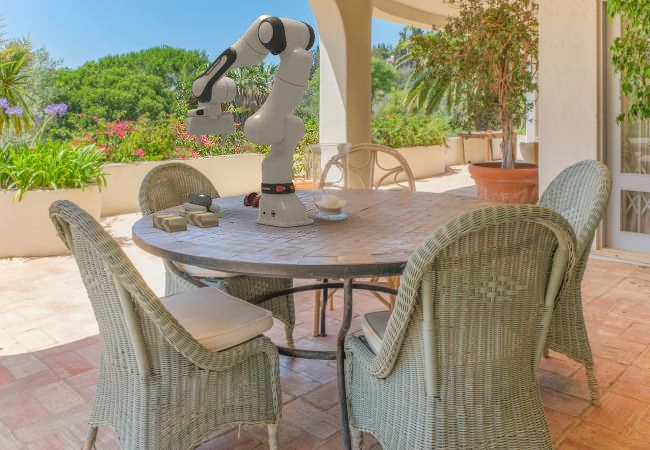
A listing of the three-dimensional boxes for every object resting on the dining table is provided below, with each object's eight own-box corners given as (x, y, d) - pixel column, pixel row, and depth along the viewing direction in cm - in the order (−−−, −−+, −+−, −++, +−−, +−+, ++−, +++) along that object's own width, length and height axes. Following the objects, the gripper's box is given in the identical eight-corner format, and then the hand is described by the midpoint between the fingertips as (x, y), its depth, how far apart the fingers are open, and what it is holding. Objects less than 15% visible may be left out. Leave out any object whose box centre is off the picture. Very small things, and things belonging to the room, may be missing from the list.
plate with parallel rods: (224, 216, 222) (223, 204, 221) (196, 220, 215) (195, 207, 214) (206, 212, 234) (206, 200, 234) (179, 215, 227) (178, 203, 226)
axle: (212, 206, 221) (211, 194, 220) (200, 208, 219) (199, 196, 218) (199, 203, 231) (198, 191, 230) (188, 205, 228) (186, 193, 227)
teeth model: (256, 194, 243) (241, 192, 252) (256, 208, 244) (241, 206, 253) (272, 193, 248) (257, 191, 257) (272, 207, 249) (257, 205, 258)
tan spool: (218, 225, 202) (218, 214, 201) (170, 232, 191) (169, 220, 191) (199, 220, 215) (198, 210, 214) (153, 226, 204) (152, 215, 203)
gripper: (229, 111, 236) (231, 145, 239) (183, 111, 224) (185, 147, 226) (236, 111, 231) (238, 145, 234) (189, 111, 219) (191, 147, 221)
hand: (211, 146), depth 230 cm, fingers open, 8 cm apart
